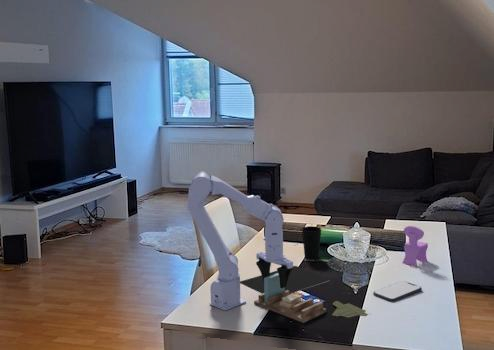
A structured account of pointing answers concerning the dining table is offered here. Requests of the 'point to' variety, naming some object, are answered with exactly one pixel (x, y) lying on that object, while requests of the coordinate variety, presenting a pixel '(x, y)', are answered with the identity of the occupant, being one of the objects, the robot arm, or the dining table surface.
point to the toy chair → (414, 246)
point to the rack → (297, 312)
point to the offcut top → (291, 298)
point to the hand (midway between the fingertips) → (274, 284)
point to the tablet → (289, 280)
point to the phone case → (397, 291)
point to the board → (272, 286)
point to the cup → (311, 242)
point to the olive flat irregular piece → (347, 310)
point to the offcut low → (289, 304)
